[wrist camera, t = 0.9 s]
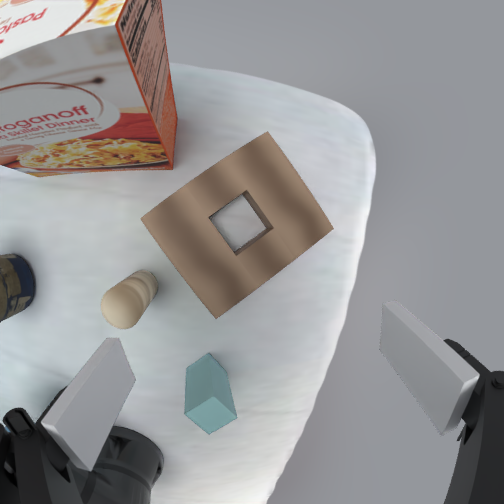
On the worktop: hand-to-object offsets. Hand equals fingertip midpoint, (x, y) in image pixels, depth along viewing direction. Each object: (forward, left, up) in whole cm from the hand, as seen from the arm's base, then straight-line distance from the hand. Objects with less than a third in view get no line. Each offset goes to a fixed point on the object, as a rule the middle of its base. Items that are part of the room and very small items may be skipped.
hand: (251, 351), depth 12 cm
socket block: (+6, +4, -27) cm, 28 cm away
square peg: (-11, -11, -27) cm, 31 cm away
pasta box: (-3, +25, -27) cm, 37 cm away
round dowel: (-10, +5, -27) cm, 29 cm away
